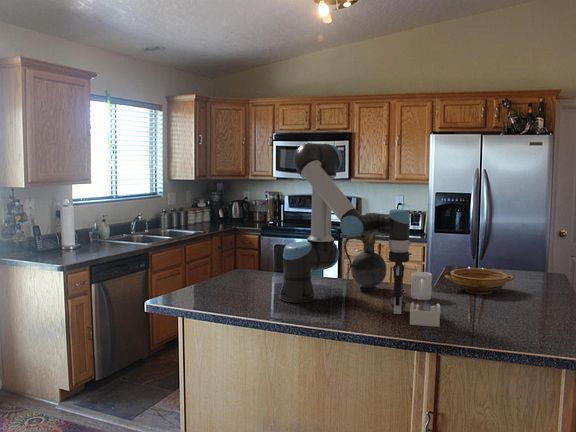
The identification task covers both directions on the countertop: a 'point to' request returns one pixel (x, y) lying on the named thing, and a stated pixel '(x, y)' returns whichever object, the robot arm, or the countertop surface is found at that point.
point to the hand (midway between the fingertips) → (398, 311)
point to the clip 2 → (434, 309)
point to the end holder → (424, 317)
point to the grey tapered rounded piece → (401, 304)
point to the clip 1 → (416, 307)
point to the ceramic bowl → (479, 279)
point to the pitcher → (367, 264)
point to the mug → (421, 285)
